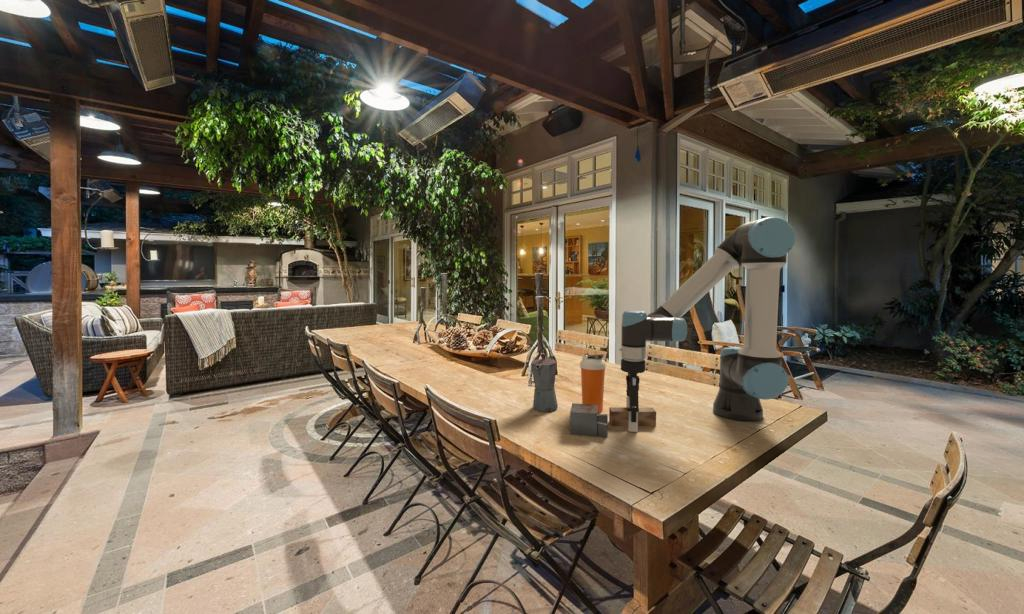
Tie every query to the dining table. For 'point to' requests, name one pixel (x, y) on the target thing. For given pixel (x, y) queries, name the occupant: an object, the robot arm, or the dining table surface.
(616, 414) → the brown wooden block
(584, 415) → the end cap
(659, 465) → the dining table surface
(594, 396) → the shaker bottle
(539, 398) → the moka pot
